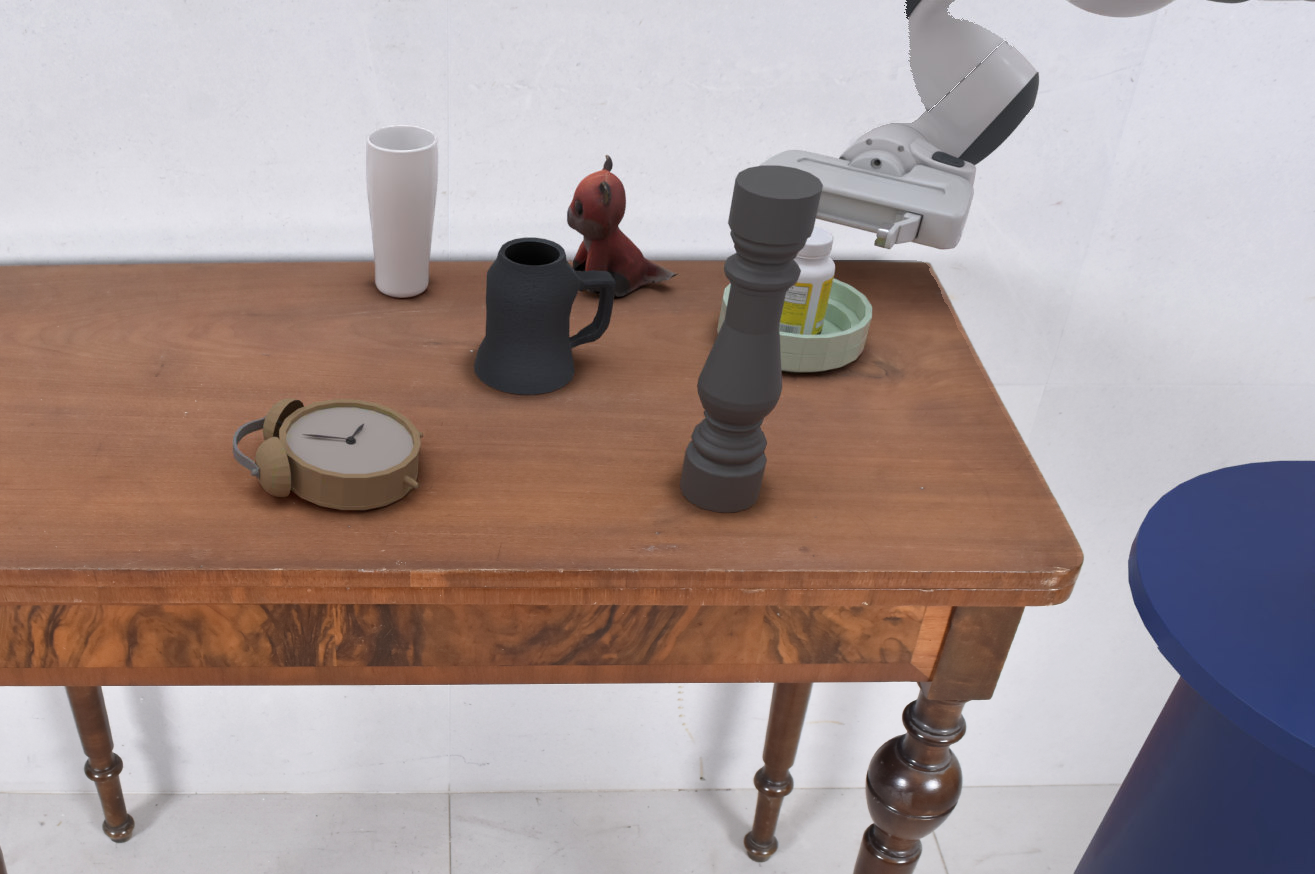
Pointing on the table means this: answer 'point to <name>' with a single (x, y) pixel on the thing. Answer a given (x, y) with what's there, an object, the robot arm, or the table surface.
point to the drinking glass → (402, 206)
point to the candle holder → (749, 337)
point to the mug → (536, 317)
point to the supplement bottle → (810, 287)
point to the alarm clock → (334, 453)
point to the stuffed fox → (608, 234)
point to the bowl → (825, 333)
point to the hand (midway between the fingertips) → (833, 227)
